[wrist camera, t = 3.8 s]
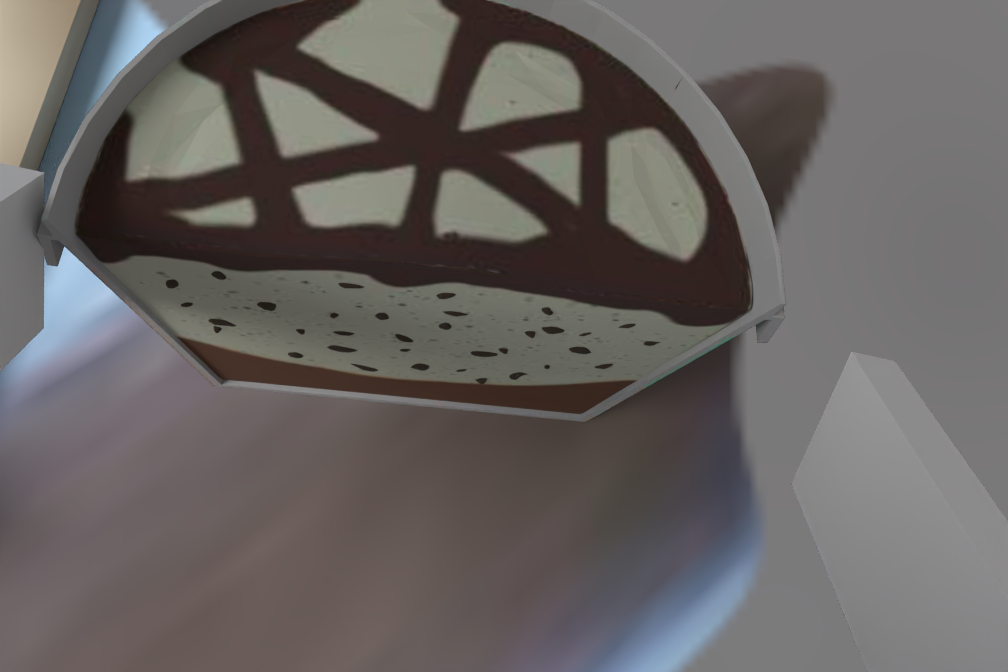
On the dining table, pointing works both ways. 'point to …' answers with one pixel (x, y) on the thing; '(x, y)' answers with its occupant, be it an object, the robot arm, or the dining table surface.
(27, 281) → the robot arm
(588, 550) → the dining table surface
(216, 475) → the dining table surface
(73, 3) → the pin plate
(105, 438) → the dining table surface
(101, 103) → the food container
